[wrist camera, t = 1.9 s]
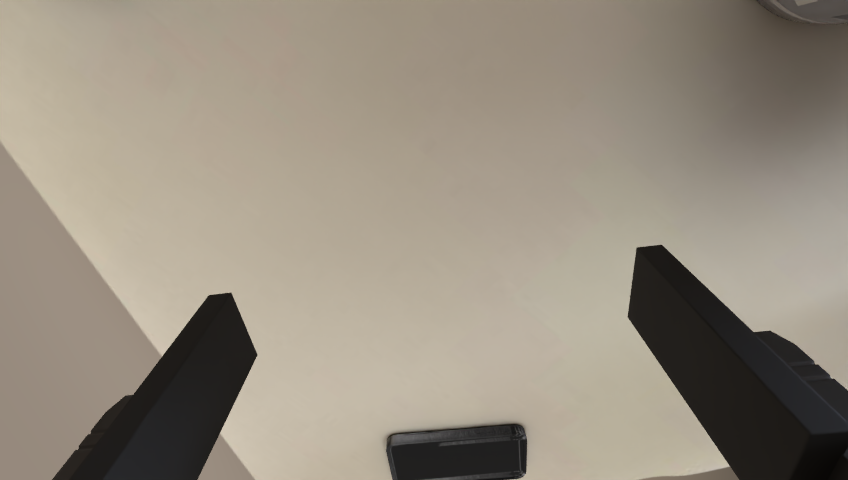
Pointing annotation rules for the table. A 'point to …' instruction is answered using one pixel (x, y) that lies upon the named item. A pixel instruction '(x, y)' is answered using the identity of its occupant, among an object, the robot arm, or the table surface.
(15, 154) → the table surface
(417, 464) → the phone
